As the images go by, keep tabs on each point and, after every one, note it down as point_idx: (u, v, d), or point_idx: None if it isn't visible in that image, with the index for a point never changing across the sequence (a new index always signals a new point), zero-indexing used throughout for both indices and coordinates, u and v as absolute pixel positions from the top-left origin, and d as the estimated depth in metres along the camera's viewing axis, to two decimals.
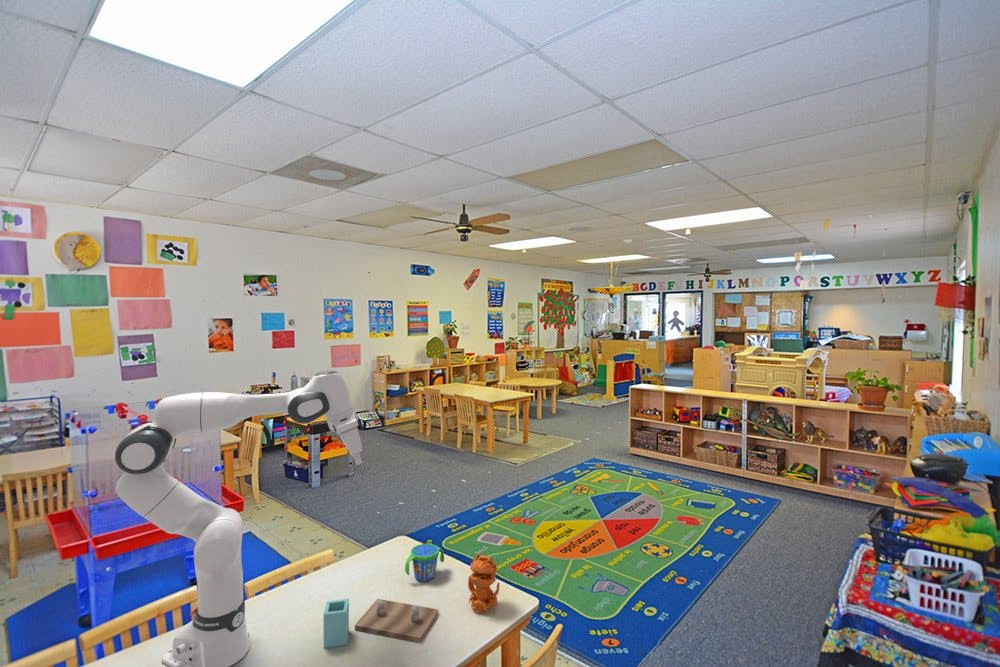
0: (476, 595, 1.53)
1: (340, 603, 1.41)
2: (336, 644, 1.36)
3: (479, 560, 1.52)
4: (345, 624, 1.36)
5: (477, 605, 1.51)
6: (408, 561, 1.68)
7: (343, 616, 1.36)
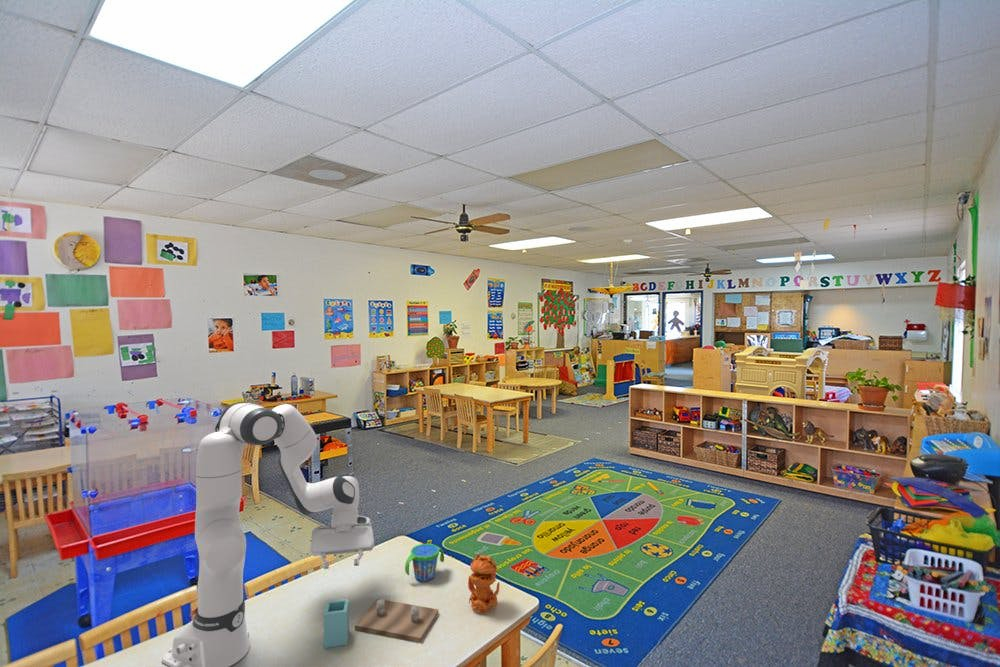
0: (476, 595, 1.53)
1: (340, 603, 1.41)
2: (336, 644, 1.36)
3: (479, 560, 1.52)
4: (345, 624, 1.36)
5: (477, 605, 1.51)
6: (408, 561, 1.68)
7: (343, 616, 1.36)
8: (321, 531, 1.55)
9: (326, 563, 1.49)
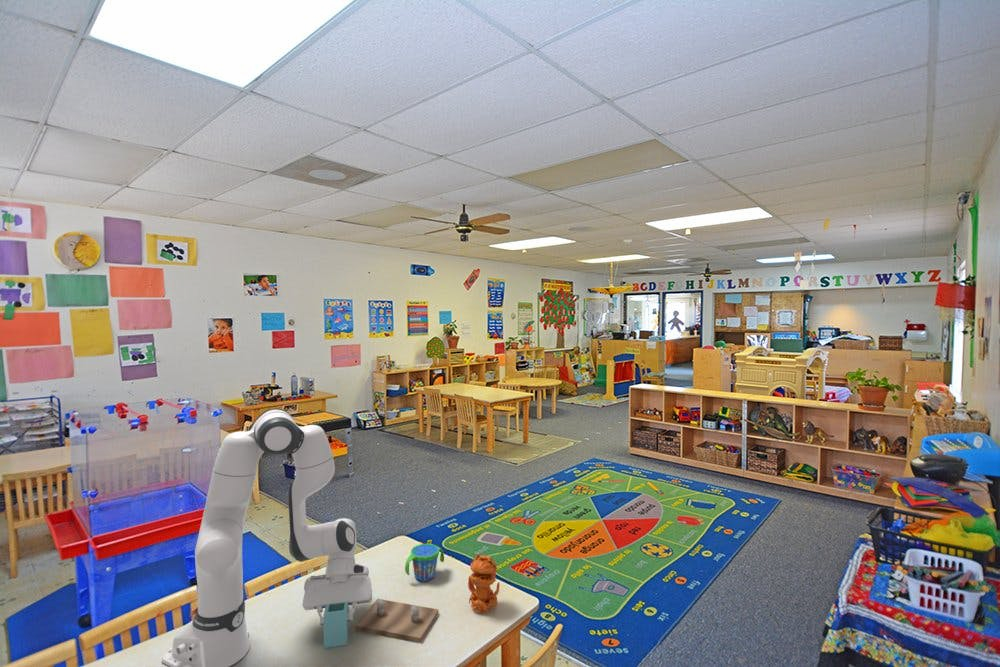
0: (476, 595, 1.53)
1: None
2: (336, 644, 1.36)
3: (479, 560, 1.52)
4: (345, 624, 1.36)
5: (477, 605, 1.51)
6: (408, 561, 1.68)
7: (343, 616, 1.36)
8: (314, 582, 1.43)
9: (323, 618, 1.37)
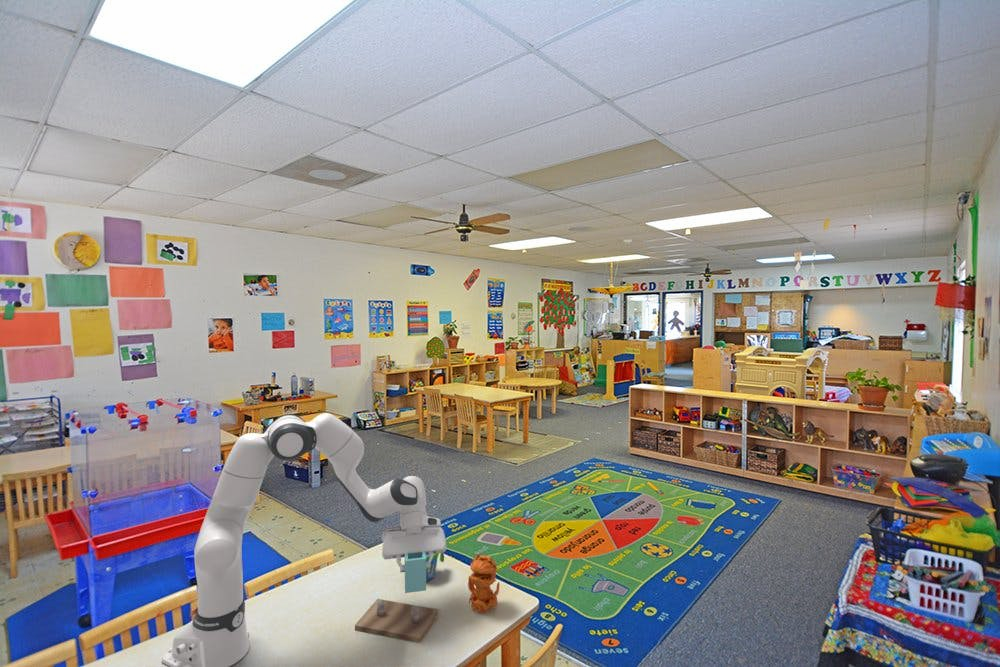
0: (476, 595, 1.53)
1: None
2: (416, 589, 1.42)
3: (479, 560, 1.52)
4: (425, 570, 1.42)
5: (477, 605, 1.51)
6: None
7: (423, 563, 1.42)
8: (391, 533, 1.49)
9: (403, 566, 1.44)
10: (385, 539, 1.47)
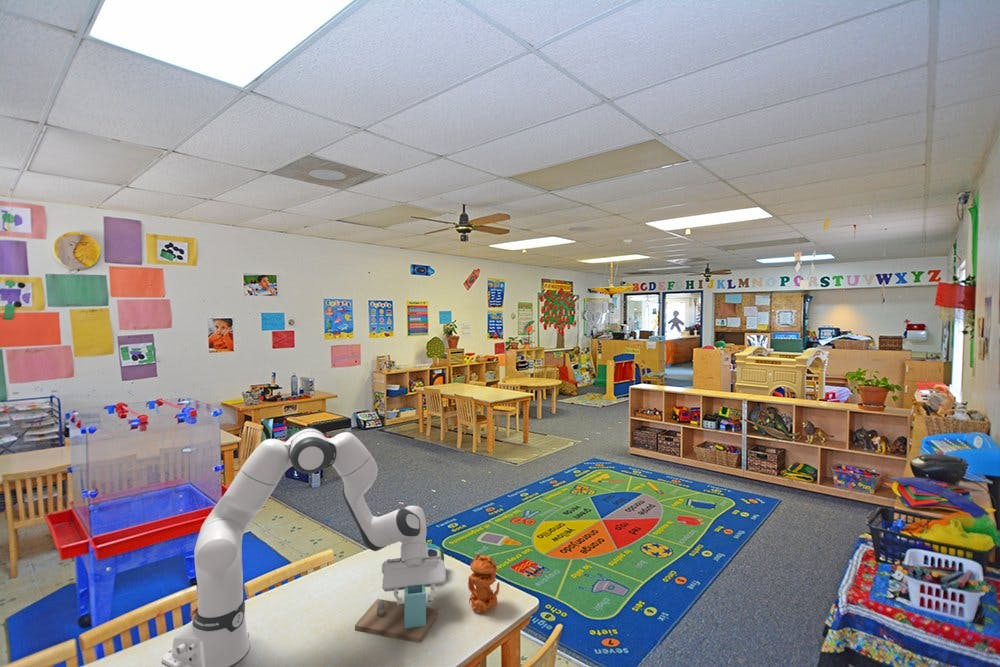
0: (476, 595, 1.53)
1: (417, 586, 1.47)
2: (416, 625, 1.42)
3: (479, 560, 1.52)
4: (424, 606, 1.43)
5: (477, 605, 1.51)
6: None
7: (423, 598, 1.42)
8: (392, 565, 1.49)
9: (400, 599, 1.44)
10: (385, 571, 1.48)
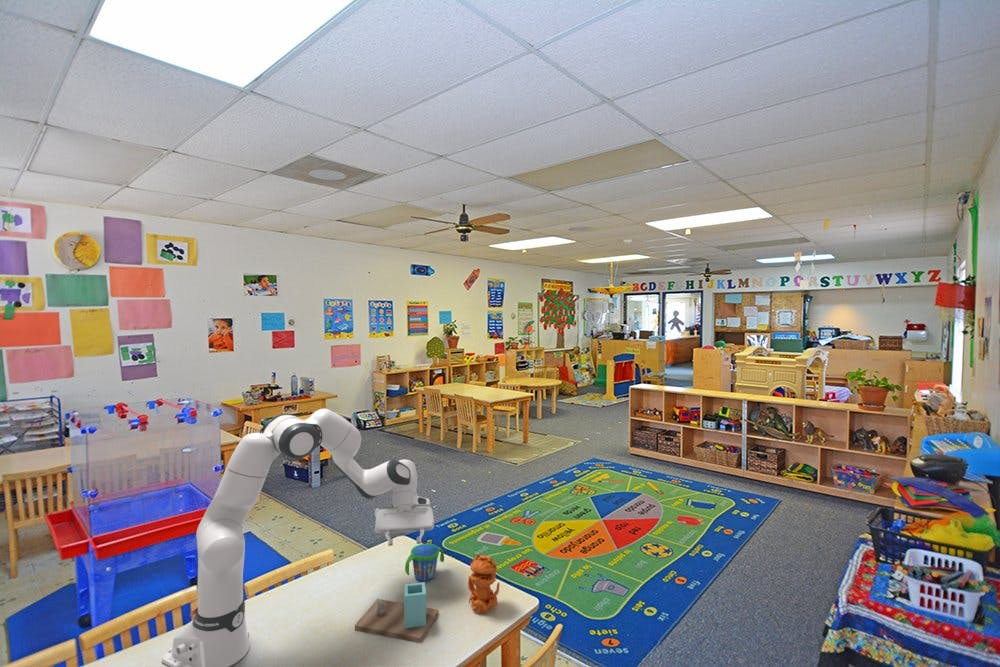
0: (476, 595, 1.53)
1: (417, 586, 1.47)
2: (416, 625, 1.42)
3: (479, 560, 1.52)
4: (424, 606, 1.43)
5: (477, 605, 1.51)
6: (408, 561, 1.68)
7: (423, 598, 1.42)
8: (384, 510, 1.61)
9: (391, 540, 1.56)
10: (378, 515, 1.60)
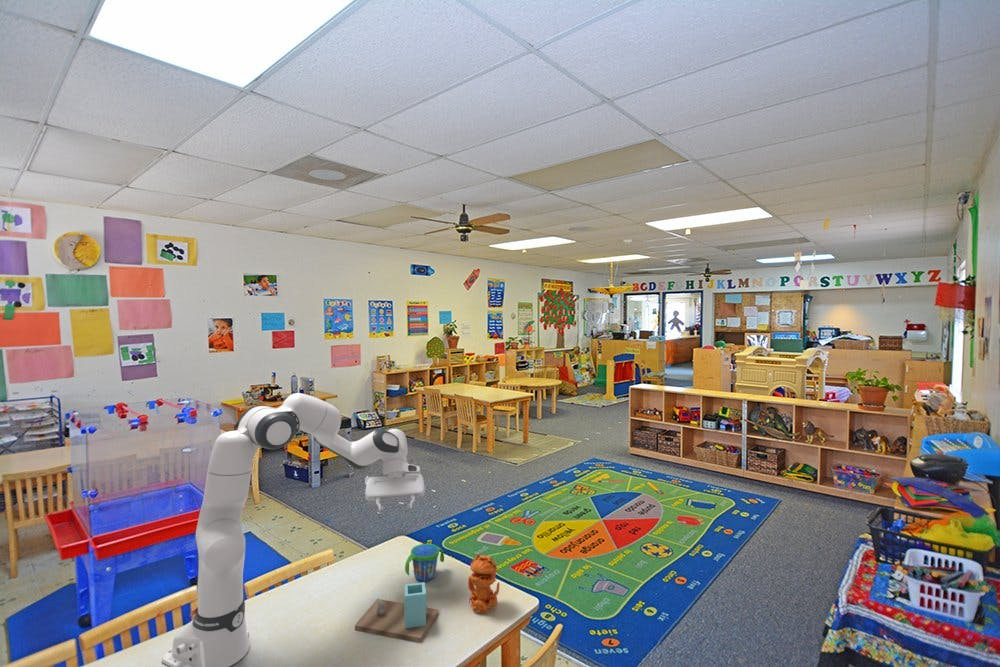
0: (476, 595, 1.53)
1: (417, 586, 1.47)
2: (416, 625, 1.42)
3: (479, 560, 1.52)
4: (424, 606, 1.43)
5: (477, 605, 1.51)
6: (408, 561, 1.68)
7: (423, 598, 1.42)
8: (374, 477, 1.61)
9: (381, 506, 1.56)
10: (368, 483, 1.60)
